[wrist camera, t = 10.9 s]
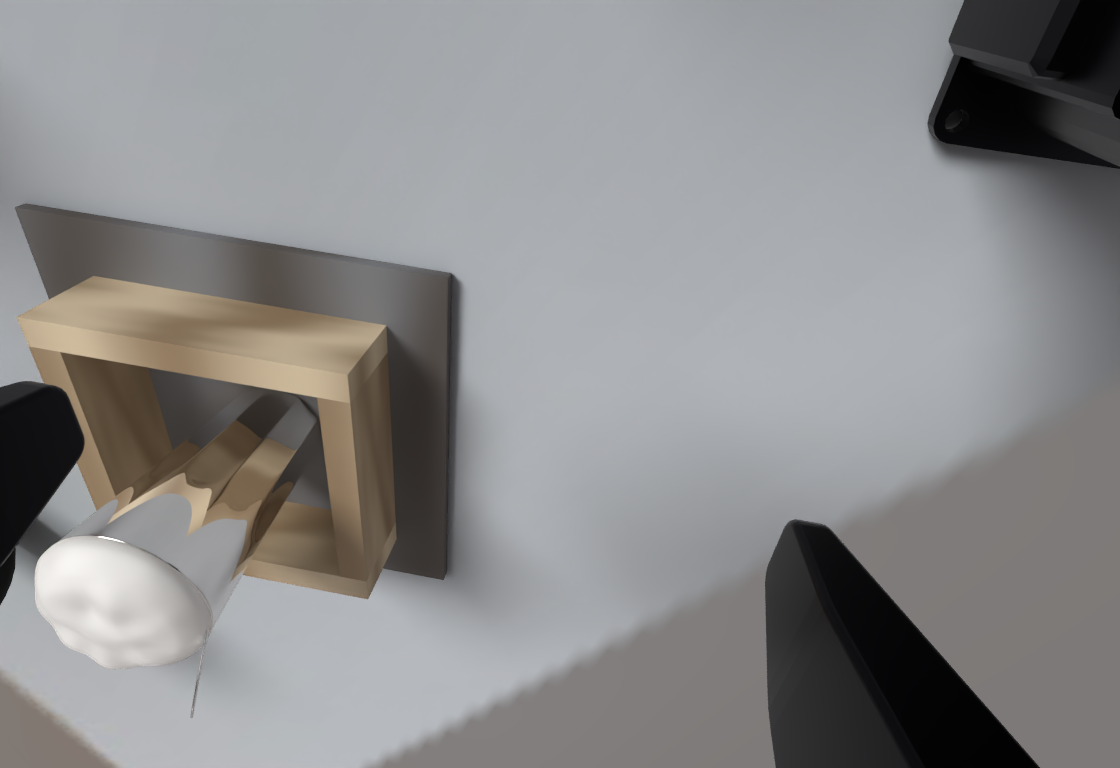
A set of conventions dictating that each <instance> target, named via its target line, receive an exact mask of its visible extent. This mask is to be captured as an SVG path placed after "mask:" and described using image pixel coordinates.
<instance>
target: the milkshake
mask: <svg viewBox="0 0 1120 768" xmlns="http://www.w3.org/2000/svg"><path fill="white" fill-rule="evenodd" d="M320 442H321V438H320V431H319V425H318V419H317V417H316V416H315V415H314V414H313V413H312V412H311V411H310V410H309V409H308V408H307V406H306V405H305V404H304V403H303V402H302V401H301V400H300V399H299V398H298V397H295V396H293V395H291V394H288V393H286V392H283V391H278V390H272V389H267V388H257V389H249V390H246V391H245V392H243V393H242V394H241V395H240V396H238V397H237V398H236V399H235V400H233V401H232V402H231V403H230V404H229V405H227V406H226V407H225V408H224V409H223V410H221V411H220V412H219V413H218V414H216V415H215V416H214V417H213V418H212V419H210V420H209V421H208V422H207V423H206V424H204V425H203V426H202V427H201V428H199V429H198V430H197V431H196V432H195V433H193V434H192V435H191V436H190V437H189V438H187V439H186V440H185V441H184V442H182V443H181V444H180V445H179V446H178V447H176V448H175V449H174V450H173V451H172V452H170V453H169V454H168V455H167V456H166V457H164V458H163V459H162V460H161V461H159V462H158V463H157V464H156V465H155V466H153V467H152V468H151V469H150V470H149V471H147V472H146V473H145V474H144V475H142V476H141V477H140V478H139V479H137V480H136V481H135V482H133V483H132V484H131V485H130V486H128V487H127V488H126V489H124V490H123V491H122V492H121V493H119V494H118V495H117V496H115V497H114V498H113V499H111V500H110V501H109V502H108V503H106V504H105V505H104V506H102V507H101V508H100V509H99V510H97V511H96V512H95V513H93V514H92V515H91V516H89V517H88V518H87V519H86V520H84V521H83V522H82V523H80V524H79V525H78V526H77V527H75V528H74V529H73V530H71V531H70V532H69V533H67V534H66V535H65V536H64V537H62V538H61V539H60V540H58V541H57V542H56V543H55V544H54V545H52V546H51V547H50V548H48V549H47V550H46V551H45V552H44V553H43V554H42V556H41V557H40V558H39V560H38V562H37V565H36V569H35V602H36V606H37V608H38V610H39V612H40V613H41V615H42V616H43V617H44V618H45V619H46V620H47V621H48V622H49V623H50V624H51V625H52V627H53V628H54V630H55V631H56V633H57V635H58V637H59V638H60V640H61V641H62V642H63V643H64V644H65V645H66V646H67V647H69V648H70V649H72V650H75V651H78V652H80V653H83V654H85V655H87V656H89V657H90V658H92V659H93V660H94V661H95V662H97V663H98V664H99V665H101V666H103V667H105V668H109V669H128V668H135V667H140V666H147V665H151V666H162V665H167V664H171V663H175V662H178V661H181V660H183V659H185V658H187V657H189V656H191V655H193V654H194V653H196V652H197V651H198V650H199V649H200V648H201V647H202V646H203V649H202V655H201V660H200V666H199V671H198V677H197V682H196V688H195V693H194V699H193V704H192V710H191V718H193V714H194V708H195V702H196V697H197V691H198V686H199V680H200V675H201V669H202V664H203V658H204V653H205V647H206V642H207V639H208V637H209V635H210V633H211V631H212V629H213V628H214V626H215V624H216V622H217V621H218V619H219V617H220V615H221V613H222V612H223V610H224V608H225V606H226V604H227V602H228V601H229V599H230V597H231V595H232V593H233V592H234V590H235V588H236V586H237V584H238V583H239V581H240V579H241V577H242V575H243V574H244V572H245V570H246V568H247V566H248V564H249V563H250V561H251V559H252V557H253V555H254V553H255V552H256V550H257V548H258V546H259V545H260V543H261V541H262V539H263V538H264V536H265V534H266V533H267V531H268V529H269V528H270V526H271V524H272V522H273V521H274V519H275V517H276V516H277V514H278V512H279V511H280V509H281V507H282V506H283V504H284V502H285V501H286V499H287V497H288V496H289V494H290V492H291V491H292V489H293V487H294V486H295V484H296V482H297V481H298V479H299V477H300V476H301V474H302V472H303V471H304V469H305V467H306V466H307V464H308V462H309V461H310V459H311V457H312V456H313V454H314V452H315V451H316V449H317V447H318V446H319V444H320Z"/></svg>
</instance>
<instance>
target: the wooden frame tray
mask: <svg viewBox="0 0 1120 768" xmlns="http://www.w3.org/2000/svg"><path fill="white" fill-rule="evenodd" d="M15 209H16V212H17V215H18V217H19V220H20V223H21V225H22V228H23V231H24V233H25V236H26V239H27V241H28V244H29V247H30V249H31V252H32V255H33V257H34V260H35V263H36V265H37V268H38V271H39V273H40V276H41V279H42V281H43V284H44V287H45V289H46V292H47V295H48V297H49V300H47V301H46V302H44V303H42V304H40V305H38V306H36V307H34V308H32V309H31V310H29V311H27V312H25V313H23V314H21V315H19V316H18V317H17V319H18V322H19V324H20V327H21V329H22V331H23V334H24V336H25V339H26V341H27V343H28V346H29V348H30V351H31V353H32V356H33V358H34V360H35V363H36V365H37V368H38V370H39V372H40V375H41V377H42V380H43V382H44V384H49V385H55V386H58V387H60V388H62V389H63V390H64V391H65V392H66V393H67V395H68V397H69V399H70V401H71V404H72V406H73V409H74V411H75V414H76V416H77V419H78V422H79V424H80V427H81V429H82V432H83V434H84V438H85V445H84V450H83V452H82V455H81V457H80V458H79V460H78V461H77V464H78V466H79V469H80V471H81V474H82V476H83V478H84V481H85V483H86V486H87V488H88V491H89V493H90V495H91V498H92V500H93V503H94V505H95V507H96V510H99V509H100V508H101V507H102V506H104V505H105V504H106V503H108V502H109V501H110V500H111V499H113V498H114V497H115V496H117V495H118V494H119V493H121V492H122V491H123V490H124V489H126V488H127V487H128V486H130V485H131V484H132V483H133V482H135V481H136V480H137V479H139V478H140V477H141V476H142V475H144V474H145V473H146V472H147V471H149V470H150V469H151V468H152V467H153V466H155V465H156V464H157V463H158V462H159V461H161V460H162V459H163V458H164V457H166V456H167V455H168V454H169V453H170V452H172V451H173V450H174V449H175V448H176V447H178V446H179V445H180V444H181V443H182V442H184V441H185V440H186V439H187V438H189V437H190V436H191V435H192V434H193V433H195V432H196V431H197V430H198V429H199V428H201V427H202V426H203V425H204V424H206V423H207V422H208V421H209V420H210V419H212V418H213V417H214V416H215V415H216V414H218V413H219V412H220V411H221V410H223V409H224V408H225V407H226V406H227V405H229V404H230V403H231V402H232V401H233V400H235V399H236V398H237V397H238V396H240V395H241V394H242V393H243V392H245V391H246V390H249V389H257V388H267V389H272V390H278V391H283V392H286V393H288V394H291V395H293V396H295V397H298V398H299V399H300V400H301V401H302V402H303V403H304V404H305V405H306V406H307V408H308V409H309V410H310V411H311V412H312V413H313V414H314V415H315V416H316V417H317V419H318V425H319V431H320V438H321V442H320V444H319V446H318V447H317V449H316V451H315V452H314V454H313V456H312V457H311V459H310V461H309V462H308V464H307V466H306V467H305V469H304V471H303V472H302V474H301V476H300V477H299V479H298V481H297V482H296V484H295V486H294V487H293V489H292V491H291V492H290V494H289V496H288V497H287V499H286V501H285V502H284V504H283V506H282V507H281V509H280V511H279V512H278V514H277V516H276V517H275V519H274V521H273V522H272V524H271V526H270V528H269V529H268V531H267V533H266V534H265V536H264V538H263V539H262V541H261V543H260V545H259V546H258V548H257V550H256V552H255V553H254V555H253V557H252V559H251V561H250V563H249V564H248V566H247V568H246V570H245V572H244V574H243V575H246V576H251V577H256V578H261V579H266V580H272V581H277V582H282V583H287V584H292V585H297V586H302V587H308V588H313V589H318V590H323V591H328V592H333V593H338V594H344V595H349V596H354V597H359V598H364V599H368V598H369V596H370V594H371V592H372V590H373V588H374V586H375V584H376V581H377V579H378V577H379V575H380V573H381V571H382V569H383V568H384V569H389V570H394V571H400V572H405V573H410V574H415V575H420V576H426V577H431V578H436V579H441V580H444V578H445V575H446V573H447V511H448V450H449V389H450V328H451V273H447V272H441V271H434V270H428V269H422V268H416V267H410V266H404V265H398V264H392V263H386V262H379V261H373V260H367V259H361V258H355V257H349V256H343V255H337V254H331V253H324V252H318V251H312V250H306V249H300V248H294V247H288V246H282V245H276V244H270V243H263V242H257V241H251V240H245V239H239V238H233V237H227V236H221V235H215V234H208V233H202V232H196V231H190V230H184V229H178V228H172V227H166V226H160V225H153V224H147V223H141V222H135V221H129V220H123V219H117V218H111V217H105V216H98V215H92V214H86V213H80V212H74V211H68V210H62V209H56V208H50V207H43V206H37V205H31V204H23V205H20V206H17V207H15Z"/></svg>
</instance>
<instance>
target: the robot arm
mask: <svg viewBox="0 0 1120 768" xmlns="http://www.w3.org/2000/svg"><path fill="white" fill-rule="evenodd" d="M949 44H950V46H951V49H952V51H953V53H954V56H953V59H952V61H951V64H950V66H949V68H948V71H947V73H946V76H945V78H944V81H943V83H942V86H941V88H940V90H939V93H938V95H937V98H936V100H935V103H934V105H933V108H932V110H931V112H930V115H929V119H928V128H929V132H930V133H931V134H932V135H933V136H934V137H935V138H936V139H938V140H940V141H942V142H945V143H947V144H954V145H961V146H968V147H975V148H982V149H988V150H995V151H1002V152H1009V153H1016V154H1023V155H1030V156H1036V157H1043V158H1050V159H1057V160H1064V161H1071V162H1078V163H1085V164H1091V165H1098V166H1105V167H1112V168H1119V169H1120V0H964V3H963V5H962V8H961V10H960V13H959V15H958V18H957V20H956V23H955V25H954V28H953V30H952V33H951V35H950V38H949ZM956 110H961V111H962V113H963V115H962V120H961V121H960V123H959V124H958V125H957V126H956V127H954V128H952V129H946V128H945V121H946V119H947V117H948V116H949V114H951V113H952V112H954V111H956ZM84 445H85V438H84V434H83V432H82V429H81V427H80V424H79V422H78V419H77V416H76V414H75V411H74V409H73V406H72V404H71V401H70V399H69V397H68V395H67V393H66V392H65V391H64V390H63V389H62V388H60V387H58V386H55V385H49V384H44V383H38V382H32V381H23V382H18V383H14V384H10V385H7V386H3V387H0V566H1V565H2V564H3V563H4V562H5V560H6V559H7V558H8V557H9V555H10V554H11V553H12V551H13V550H14V549H15V547H16V546H17V545H18V543H19V542H20V541H21V539H22V538H23V536H24V535H25V534H26V532H27V531H28V529H29V528H30V527H31V525H32V524H33V522H34V521H35V520H36V518H37V517H38V515H39V514H40V513H41V511H42V510H43V509H44V507H45V506H46V504H47V503H48V502H49V500H50V499H51V497H52V496H53V495H54V493H55V492H56V490H57V489H58V488H59V486H60V485H61V483H62V482H63V481H64V479H65V478H66V476H67V475H68V474H69V472H70V471H71V469H72V468H73V467H74V465H75V464H76V463H77V461H78V460H79V458H80V457H81V455H82V452H83V450H84ZM765 598H766V599H765V601H766V643H767V687H768V710H769V719H770V728H771V736H772V743H773V750H774V758H775V765H776V768H1040V767H1039V766H1038V765H1037V764H1036V763H1035V762H1034V760H1033V759H1032V758H1031V757H1030V756H1029V755H1028V753H1027V752H1026V751H1025V750H1024V749H1023V748H1022V747H1021V746H1020V744H1019V743H1018V742H1017V741H1016V740H1015V739H1014V738H1013V736H1012V735H1011V734H1010V733H1009V732H1008V731H1007V730H1006V728H1005V727H1004V726H1003V725H1002V724H1001V723H1000V722H999V720H998V719H997V718H996V717H995V716H994V715H993V714H992V712H991V711H990V710H989V709H988V708H987V707H986V706H985V704H984V703H983V702H982V701H981V700H980V699H979V698H978V697H977V695H976V694H975V693H974V692H973V691H972V690H971V689H970V688H969V686H968V685H967V684H966V683H965V682H964V681H963V679H962V678H961V677H960V676H959V675H958V674H957V673H956V671H955V670H954V669H953V668H952V667H951V666H950V665H949V663H948V662H947V661H946V660H945V659H944V658H943V657H942V656H941V654H940V653H939V652H938V651H937V650H936V649H935V648H934V646H933V645H932V644H931V643H930V642H929V641H928V640H927V638H926V637H925V636H924V635H923V634H922V633H921V632H920V631H919V629H918V628H917V627H916V626H915V625H914V624H913V623H912V621H911V620H910V619H909V618H908V617H907V616H906V615H905V613H904V612H903V611H902V610H901V609H900V608H899V607H898V605H897V604H896V603H895V602H894V601H893V600H892V599H891V598H890V596H889V595H888V594H887V593H886V592H885V591H884V590H883V588H882V587H881V586H880V585H879V584H878V583H877V582H876V580H875V579H874V578H873V577H872V576H871V575H870V574H869V572H868V571H867V570H866V569H865V568H864V567H863V566H862V564H861V563H860V562H859V561H858V560H857V559H856V558H855V556H854V555H853V554H852V553H851V552H850V551H849V550H848V549H847V547H846V546H845V545H844V544H843V543H842V542H841V540H840V539H839V538H838V537H837V536H836V535H835V534H834V533H833V531H832V530H831V529H830V528H828V527H827V526H826V525H823V524H819V523H814V522H808V521H803V520H797V519H795V520H791V521H789V522H788V523H787V525H786V526H785V528H784V530H783V532H782V534H781V537H780V539H779V541H778V544H777V546H776V548H775V550H774V553H773V555H772V557H771V559H770V562H769V564H768V567H767V571H766V579H765Z"/></svg>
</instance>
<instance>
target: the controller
mask: <svg viewBox="0 0 1120 768" xmlns="http://www.w3.org/2000/svg"><path fill="white" fill-rule="evenodd" d="M15 551H16V548H15V549H14V550H13V551H12V553H11V554H10V555H9V557H8V558H7V559H6V560H5V562H4V563H3V564H2V565H1V566H0V605H1V603H2V601H3V599H4V598H5V596H6V594H7V591H8V589H9V587H10V584H11V582H12V578H13V574H14V570H15Z"/></svg>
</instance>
